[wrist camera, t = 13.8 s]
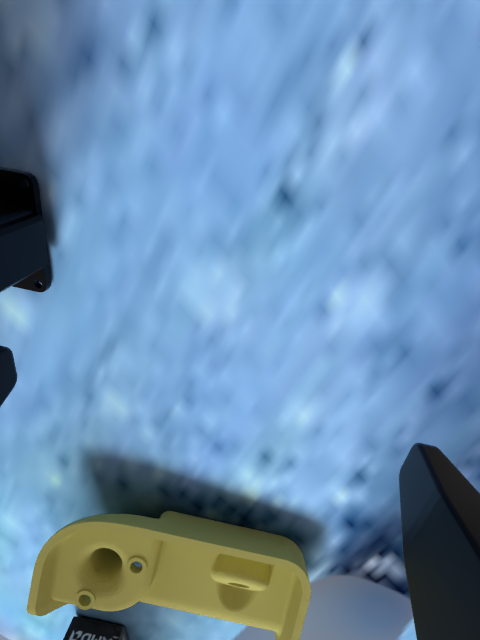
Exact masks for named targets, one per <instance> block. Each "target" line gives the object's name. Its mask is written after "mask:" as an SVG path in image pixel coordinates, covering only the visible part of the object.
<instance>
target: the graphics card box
mask: <svg viewBox="0 0 480 640" xmlns="http://www.w3.org/2000/svg"><path fill="white" fill-rule="evenodd" d="M63 640H128V638H127V634H126V629H125V627H123V626H120V625H116V624H112V623H106V622H101V621H97V620H94V619H86V618H81V617H73V619H72V622H71V624H70V626H69V628H68V630H67V632H66V635H65V637H64V639H63Z"/></svg>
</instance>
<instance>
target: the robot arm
mask: <svg viewBox="0 0 480 640" xmlns="http://www.w3.org/2000/svg"><path fill="white" fill-rule="evenodd" d="M24 180H26V181H27V182H28V184H29V187H27V186H26V185H25V182H24ZM48 263H49V260H48V252H47V244H46V236H45V228H44V221H43V218H42V210H41V202H40V194H39V186H38V182H37V179H36V178H35V176H33V175H32V174H31V173H28V172H24V171H19V170H13V169H8V168H3V167H0V292H2V291H4V290H6V289H7V288H9V287H11V286H13V287H18V288H22V289H27V290H32V291H36V292H44V291H46V290H47V289H49V288H50V286H51V281H50V273H49V265H48ZM39 281H40V282H41V283H42V285H41V284H40V283H39ZM16 381H17V372H16V367H15V362H14V357H13V353H12V351H11V350H10V349H9V348H8V347H4V346H0V407H1V405H2V404H3V402H4V401H5V399H6V398H7V396H8V395H9V394H10V392H11V391H12V389H13V388H14V386H15V384H16ZM399 488H400V507H401V525H402V543H403V554H404V562H405V569H406V575H407V581H408V587H409V593H410V599H411V605H412V611H413V617H414V624H415V630H416V636H417V640H480V493H479V492H478V491H477V490H476V489H475V488H474V487H473V486H472V485H471V483H470V482H469V481H468V480H467V479H466V478H465V477H464V476H463V475H462V474H461V472H460V471H459V470H458V469H457V468H456V467H455V466H454V465H453V464H452V463H451V462H450V460H449V459H448V458H447V457H446V456H445V455H444V454H443V453H442V452H441V451H440V450H439V449H438V448H437V447H435V446H431V445H427V444H423V443H415V444H414V445H413V446H412V448H411V450H410V452H409V454H408V456H407V457H406V459H405V461H404V463H403V465H402V467H401V469H400V474H399Z"/></svg>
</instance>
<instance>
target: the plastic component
mask: <svg viewBox="0 0 480 640" xmlns="http://www.w3.org/2000/svg"><path fill="white" fill-rule="evenodd" d="M136 561H137V562H140V563H141V564H142V566H141V567H136V566H135V565H134V564H133V562H136ZM310 597H311V587H310V583H309V578H308V574H307V569H306V565H305V560H304V557H303V554H302V552H301V550H300V549H299V547H298V546H297V545H296V544H295V543H294V542H293V541H292V540H290V539H288V538H286V537H284V536H281V535H276V534H272V533H268V532H264V531H259V530H255V529H250V528H246V527H241V526H237V525H232V524H228V523H223V522H219V521H214V520H210V519H205V518H201V517H196V516H192V515H187V514H183V513H178V512H173V511H166V512H164V513H163V514H162V515H161V516H160V518H159V519H155V518H150V517H145V516H140V515H132V514H100V515H94V516H90V517H86V518H83V519H80V520H78V521H75V522H72V523H70V524H68V525H66V526H65V527H63V528H62V529H60V530H59V531H58V532H56V533H55V534H54V535H53V536H52V537H51V538H50V539H49V540H48V541H47V542H46V544H45V545H44V546H43V548H42V549H41V551H40V553H39V555H38V558H37V560H36V563H35V567H34V571H33V576H32V582H31V588H30V594H29V600H28V605H27V612H28V613H30V614H32V615H36V616H43V615H46V614H48V613H50V612H51V611H53V610H55V609H57V608H59V607H61V606H63V605H66V604H68V603H69V604H74V605H76V606H77V607H78V608H80V609H81V610H89V609H90V608H92V609H97V610H101V611H119V610H123V609H126V608H129V607H131V606H133V605H134V604H136V603H137V602H138V601H140V602H144V603H149V604H153V605H158V606H162V607H167V608H172V609H176V610H181V611H185V612H190V613H194V614H199V615H203V616H208V617H213V618H217V619H222V620H226V621H231V622H235V623H240V624H244V625H249V626H254V627H258V628H263V629H267V630H272V631H275V637H276V640H299V639H300V635H301V631H302V628H303V624H304V620H305V616H306V612H307V608H308V604H309V600H310Z"/></svg>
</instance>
